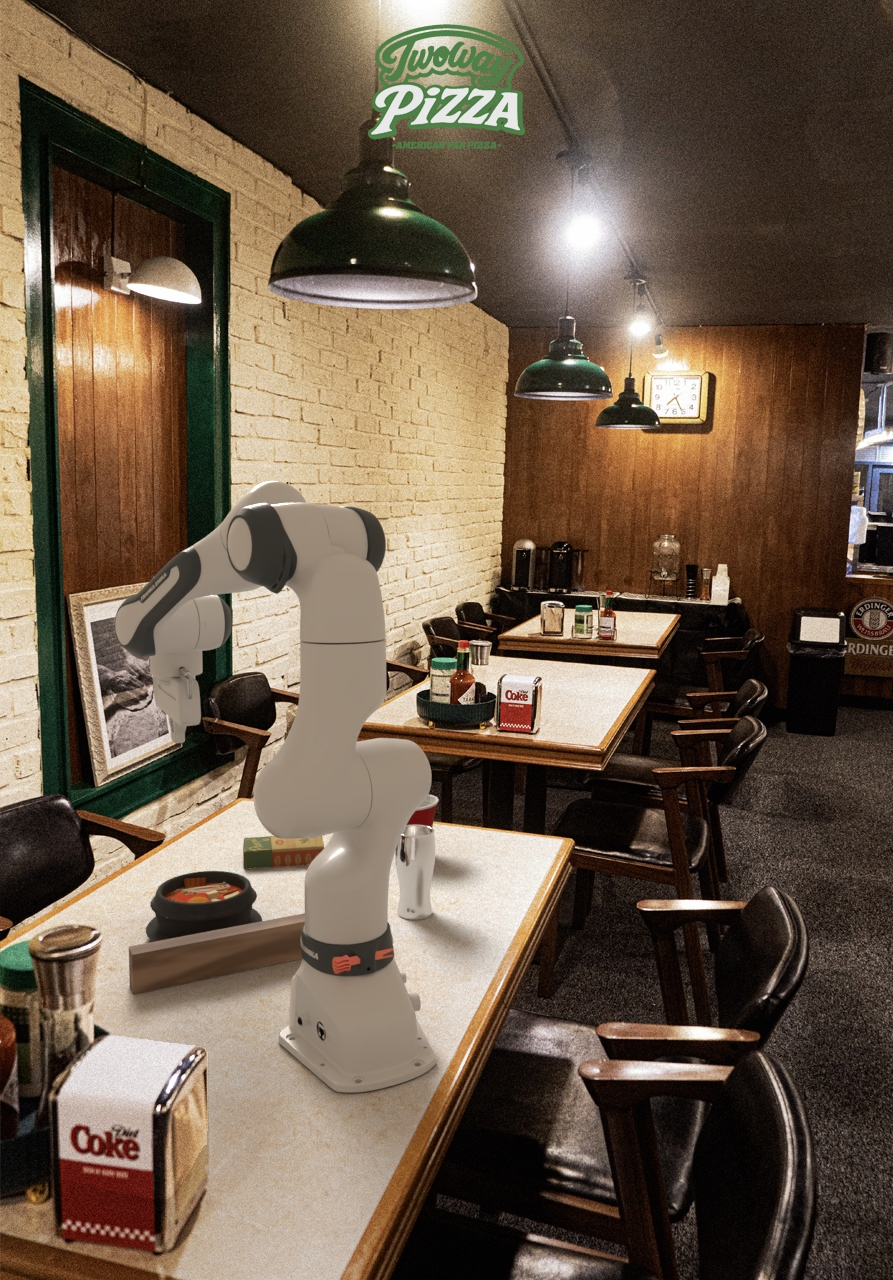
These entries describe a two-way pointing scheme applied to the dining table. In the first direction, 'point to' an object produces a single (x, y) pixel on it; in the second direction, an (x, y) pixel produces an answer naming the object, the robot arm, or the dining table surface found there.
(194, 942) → the walnut board
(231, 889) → the casserole
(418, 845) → the beer glass
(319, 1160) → the dining table surface
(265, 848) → the carton
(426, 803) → the plastic cup
